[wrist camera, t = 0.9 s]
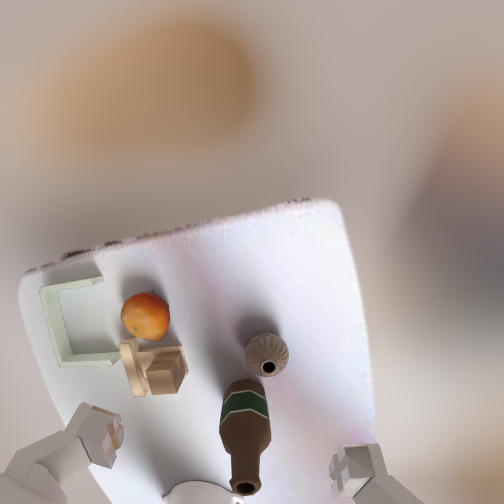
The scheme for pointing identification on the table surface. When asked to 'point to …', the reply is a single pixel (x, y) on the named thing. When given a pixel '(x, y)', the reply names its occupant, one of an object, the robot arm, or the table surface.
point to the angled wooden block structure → (153, 368)
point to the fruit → (146, 316)
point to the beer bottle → (245, 433)
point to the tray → (59, 329)
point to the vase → (266, 354)
